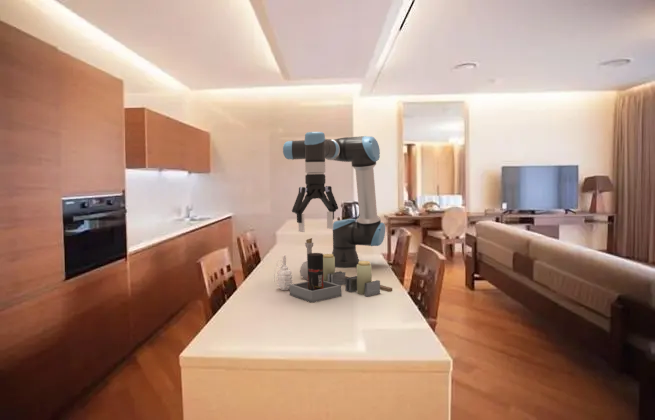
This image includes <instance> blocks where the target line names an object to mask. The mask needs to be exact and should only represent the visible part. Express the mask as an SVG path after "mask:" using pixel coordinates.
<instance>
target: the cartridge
mask: <svg viewBox="0 0 655 420" xmlns="http://www.w3.org/2000/svg"><path fill="white" fill-rule="evenodd" d="M322 254H323V281H327V282H328V273H334V272H336V267H335V257H334V256H333V254H332V253H322Z"/></svg>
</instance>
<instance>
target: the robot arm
mask: <svg viewBox="0 0 655 420" xmlns="http://www.w3.org/2000/svg"><path fill="white" fill-rule="evenodd" d="M379 145H380V144H379V143H378V140H377V139H376V138H375V137H374V136H367V135H364V136H351V137H349V136H348V137H347V136H346V137H340V138H334V139H330V138H328V139H327V138H326V135H325V133H324V132H323V131H308V132H305V135H304V140H303V139H302V140H288V141H285V142H284V144H283V146H282V153H283V156H284V157H285V159H287V160H292V161H293V160H304V165H305V166H304V168H305V169H304V170H305V171H304V173H306V174H305V175H304V179H305V186H306V187H305V186H300V187H299V188H298V193H297V196H296V199H295V201H294V204H293V207H292V209H291V212H292V213H294V214H296V222H297V223H298V232H299V233H300V232H301V233H305V229H306V228H305V213H304V212H305V210H306V209H307V207H308V205H309V203H310V202H311V201H312V200H315V199H320V200H321V202H322V203H323V205H324V206H325V208H326V210H328V211H326V228H327V229H329V230H330V229H331V230H332V252H331V254H333V256H334V257H335V268H336V267H337V268H352V267H357V264H358V262H359V261H360V259H359V256H358V252H357V250H356V248H357V246H368V247H378V246H380V245H382V244H383V242H384V240H385V239H384V238H385V235H386V224H385V222H381V217H379V216H378V209H377V197H376V185H375V184H376V183H375V175H374V174H375V173H374V168H375V166H376V165H377V162H378V161H379V160H380V156H381V155H380V154H381V148H380V146H379ZM326 160H327V161H336V162H342V163H343V162H345V163H351V167H352V168H353V169H354V170H355V181H356V182H355V183H356V190H357V191H356V193H357V199H358V201H357V203H358V213H359V217H358V218H357V219H355V218H347V219H339V220H335V212H337V210H339V205H338V204H337V201H336V197H335V195H334V193H333V191H332V189H333V188H332V186H331V185H326V186H325V184H326V174H325V173H326ZM297 223H296V224H297Z"/></svg>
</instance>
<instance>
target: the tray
mask: <svg viewBox="0 0 655 420" xmlns="http://www.w3.org/2000/svg"><path fill="white" fill-rule="evenodd" d="M323 284H324V288H323V289H318V290H314V291H311V290H308V280H306V281H302V282H297V283H292V284H291V285H290V288H289V296H291V297H294V298H296V299H300V300H302V299H303V301H305V300H306V302H308V301H309V303H311V302H313V303H317V302H320V301H321V300H322V301H326V300H330V299H334V298H338V297H342V285H337V284H334V283H330V282H327V281H323ZM316 301H317V302H316ZM322 301H321V302H322Z"/></svg>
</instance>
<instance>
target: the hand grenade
mask: <svg viewBox="0 0 655 420" xmlns="http://www.w3.org/2000/svg"><path fill="white" fill-rule="evenodd" d="M286 256H287V255H286V254H283V256H282V259H280V260H277V261H276V263H278V262H282V264H281V265H280V266H279V265H278V264H276V266H277V267H276V268H274V273H273V274H274V275H273V283H275V278H276V279H277V280H276V284H277V287H278V288H279V289H280V290H281V291H288V290H290V285H291V284H293V274H292V270H290V269H289V266H288V265H287V257H286ZM278 268H280V269H279V270H278V271H277V275H276V269H278Z"/></svg>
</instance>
